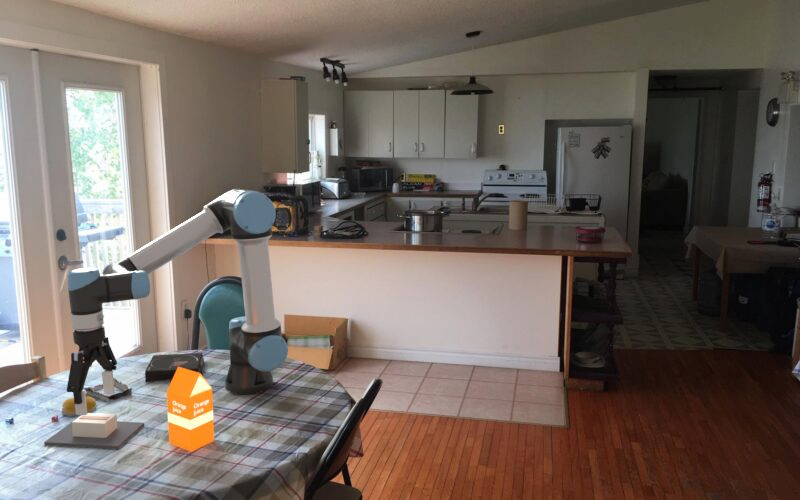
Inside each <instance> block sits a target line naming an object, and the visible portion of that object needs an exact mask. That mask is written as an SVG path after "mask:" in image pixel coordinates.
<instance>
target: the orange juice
mask: <svg viewBox="0 0 800 500" xmlns="http://www.w3.org/2000/svg"><path fill="white" fill-rule="evenodd" d="M170 381H171V382H170V384H169V386H168V388H167V390H166V401H167V404H166V405H167V423H168V426H167V427H168V443H169V444H171V445H174V446H175V447H178V448H181V449H183V450H186V451H188V452H194V451H196V450H198V449H200V448H202V447H204V446H206V445H208V444H210V443H211V442H214V441H215V430H214V428H215V427H214V405H213V402H214V401H213V387H212V386H211V385H210V384H209V382H208V380H206V379H205V377H204V376H203V375H202V374H201V372H200V373H198V372H195V371H191V370H188V369H184V368H181V367H178V368H177V370H176V372H175V375H174V377H173V379H172V380H170Z"/></svg>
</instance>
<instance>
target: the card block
mask: <svg viewBox="0 0 800 500" xmlns="http://www.w3.org/2000/svg"><path fill="white" fill-rule="evenodd" d="M75 419H76V420H75ZM75 419H74V420H72V421H73V422H72V421H71V422H72V429H73V436H77V437H97V438H106V437H107V436H109V435H110V434H111V433H112V432H113V431H114V430H116V429H117V421H118V419H117V414H116V413H101V412H99V413H96V412H89V413H87V415H79V416H78V417H77V418H75Z"/></svg>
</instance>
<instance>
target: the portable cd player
mask: <svg viewBox="0 0 800 500" xmlns="http://www.w3.org/2000/svg"><path fill="white" fill-rule="evenodd" d="M204 361H205V358H204V355H203V353H202V352H196V353H195V352H194V353H191V352H190V353H173V354H171V353H170V354H154V355H152V357H151V359H150V361H149V363H148V364H147V367H146V368H145V369H144V370H145V371H144V379H145V382H162V381H163V382H165V381H172V379H173V377H174V375H175V372H176V370H177V368H178V367H181V368H184V369H188V370H191V371H195V372H198V373H200V374H201V373H202V369H203V365H204Z"/></svg>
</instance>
